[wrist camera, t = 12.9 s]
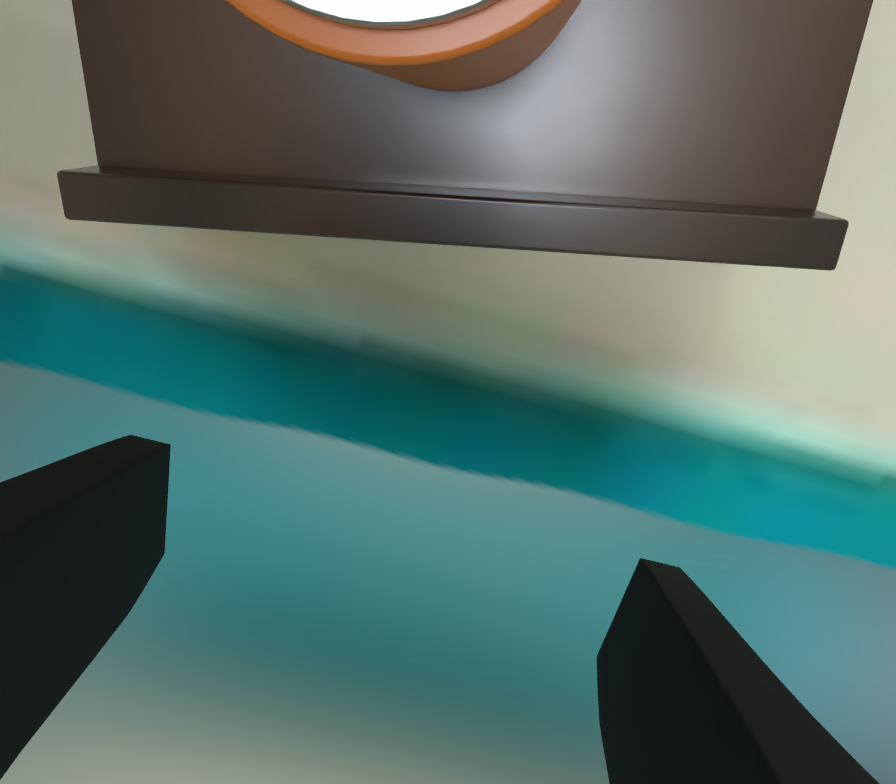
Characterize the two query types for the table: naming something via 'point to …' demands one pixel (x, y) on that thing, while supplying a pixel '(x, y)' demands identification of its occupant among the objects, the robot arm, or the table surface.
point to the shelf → (481, 133)
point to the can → (420, 35)
